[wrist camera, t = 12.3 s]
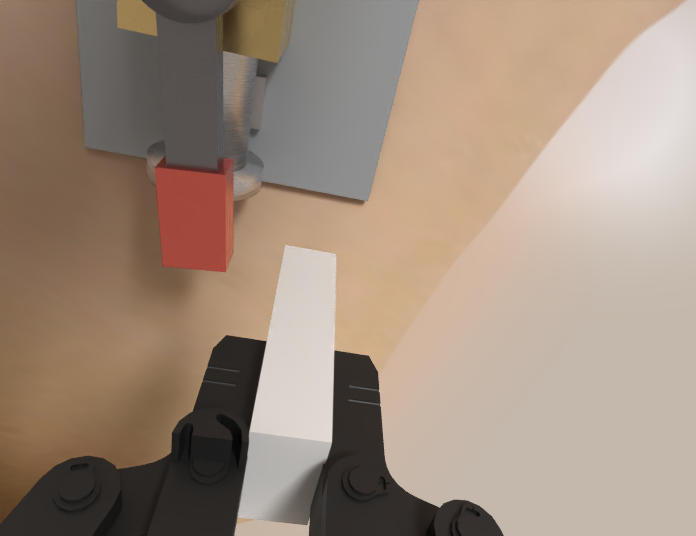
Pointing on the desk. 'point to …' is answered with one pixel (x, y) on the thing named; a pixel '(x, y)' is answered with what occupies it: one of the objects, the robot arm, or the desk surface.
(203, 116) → the lever
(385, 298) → the desk surface
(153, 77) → the mat
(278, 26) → the valve
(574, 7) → the desk surface
